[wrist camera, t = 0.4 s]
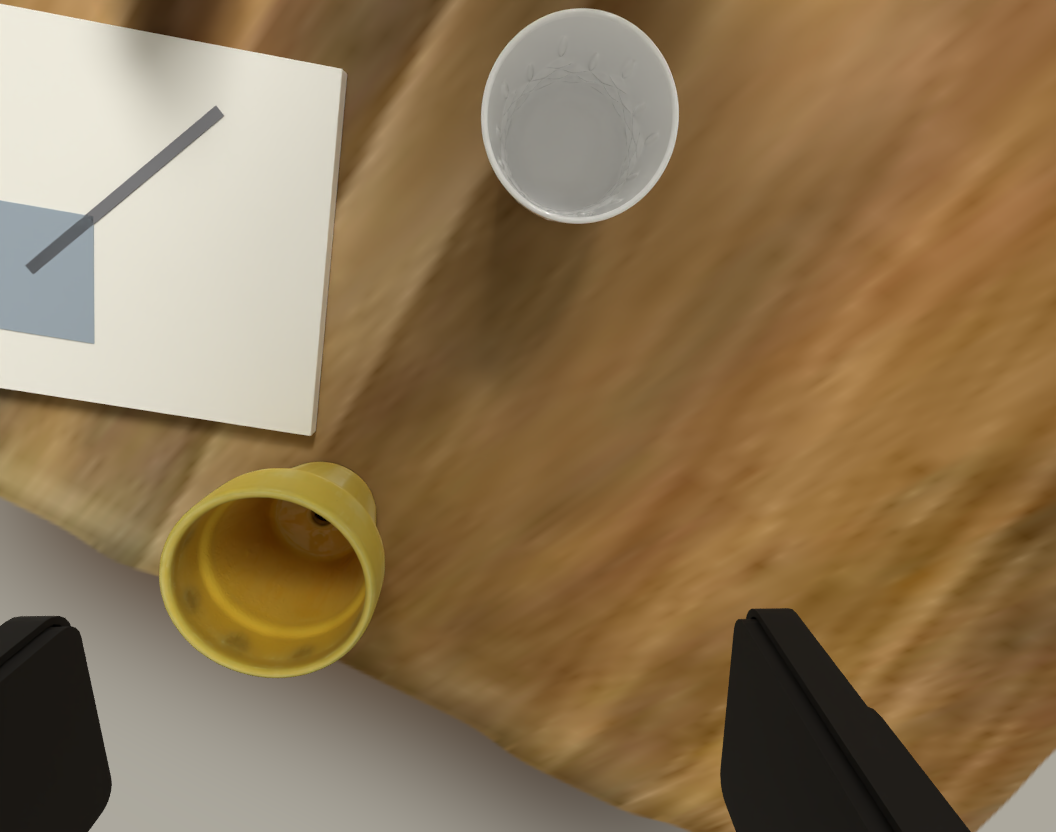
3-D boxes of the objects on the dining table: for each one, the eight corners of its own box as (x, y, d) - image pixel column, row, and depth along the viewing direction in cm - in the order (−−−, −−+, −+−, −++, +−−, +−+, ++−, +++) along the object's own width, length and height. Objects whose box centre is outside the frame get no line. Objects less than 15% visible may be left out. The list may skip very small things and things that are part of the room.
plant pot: (370, 407, 38) (322, 460, 29) (431, 554, 41) (405, 647, 31) (213, 460, 39) (116, 528, 29) (283, 601, 41) (215, 706, 32)
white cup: (474, 206, 35) (458, 190, 26) (513, 56, 33) (512, -23, 24) (607, 247, 36) (641, 247, 26) (653, 103, 34) (708, 45, 24)
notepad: (-169, -25, 32) (-192, -34, 31) (347, 74, 33) (342, 68, 32) (-132, 361, 37) (-150, 365, 36) (315, 431, 38) (310, 436, 37)
